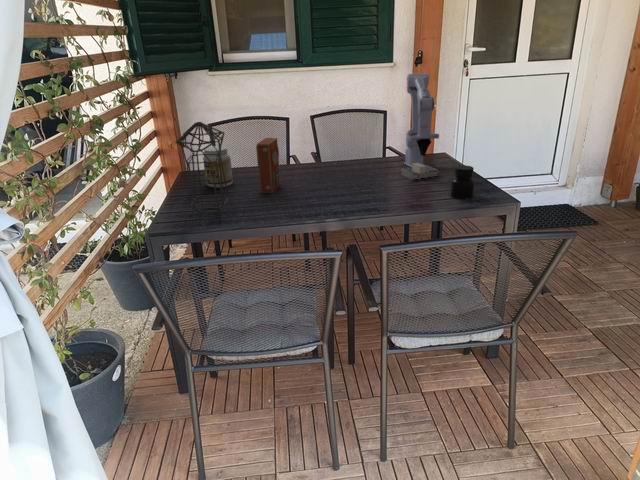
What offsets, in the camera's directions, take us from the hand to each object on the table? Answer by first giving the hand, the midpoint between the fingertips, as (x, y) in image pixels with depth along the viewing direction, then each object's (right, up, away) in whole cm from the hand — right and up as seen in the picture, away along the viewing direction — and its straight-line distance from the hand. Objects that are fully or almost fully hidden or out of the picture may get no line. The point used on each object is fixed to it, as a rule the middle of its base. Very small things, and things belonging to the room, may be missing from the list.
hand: (422, 155), depth 211 cm
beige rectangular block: (-2, -9, +2) cm, 9 cm away
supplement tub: (-94, -14, +1) cm, 95 cm away
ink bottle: (+10, -22, -26) cm, 35 cm away
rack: (-1, -9, +3) cm, 10 cm away
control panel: (-70, -17, -8) cm, 72 cm away
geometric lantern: (-90, -29, -35) cm, 101 cm away
